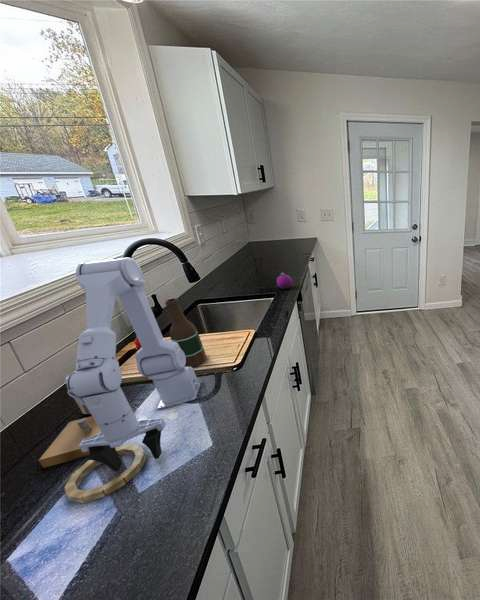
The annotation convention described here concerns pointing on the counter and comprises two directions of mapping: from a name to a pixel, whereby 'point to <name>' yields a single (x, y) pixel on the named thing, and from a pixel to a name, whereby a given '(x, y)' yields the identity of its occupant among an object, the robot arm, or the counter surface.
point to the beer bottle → (185, 335)
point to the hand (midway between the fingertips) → (139, 461)
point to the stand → (70, 442)
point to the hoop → (99, 492)
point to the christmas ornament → (284, 281)
